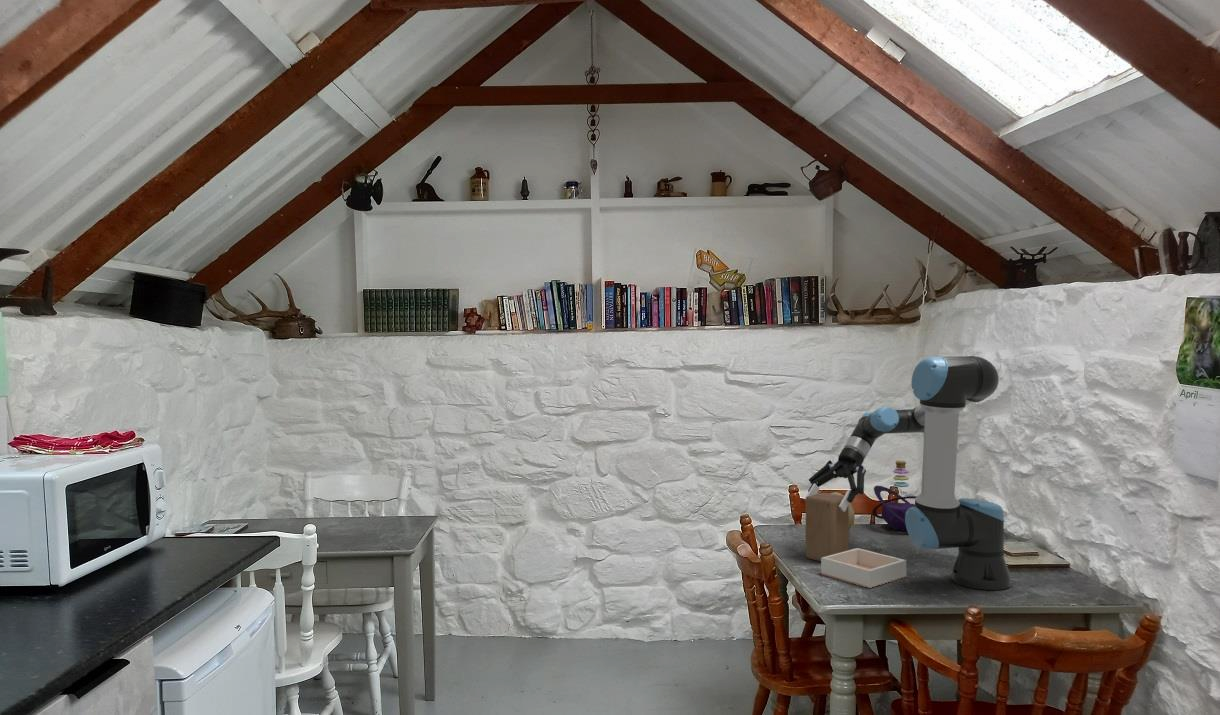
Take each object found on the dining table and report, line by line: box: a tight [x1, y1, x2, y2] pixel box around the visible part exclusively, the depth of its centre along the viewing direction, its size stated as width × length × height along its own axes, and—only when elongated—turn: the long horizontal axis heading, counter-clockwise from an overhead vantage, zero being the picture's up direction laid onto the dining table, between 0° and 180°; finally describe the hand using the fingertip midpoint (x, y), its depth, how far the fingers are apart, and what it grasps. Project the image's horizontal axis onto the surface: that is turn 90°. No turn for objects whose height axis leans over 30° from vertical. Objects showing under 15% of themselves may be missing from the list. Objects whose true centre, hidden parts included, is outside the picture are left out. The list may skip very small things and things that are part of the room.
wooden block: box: [804, 492, 850, 562], centre depth 244 cm, size 10×10×20 cm
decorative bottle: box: [871, 459, 918, 532], centre depth 280 cm, size 22×21×25 cm
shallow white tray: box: [820, 547, 907, 589], centre depth 226 cm, size 17×17×5 cm
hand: (824, 505), depth 244 cm, fingers open, 13 cm apart
